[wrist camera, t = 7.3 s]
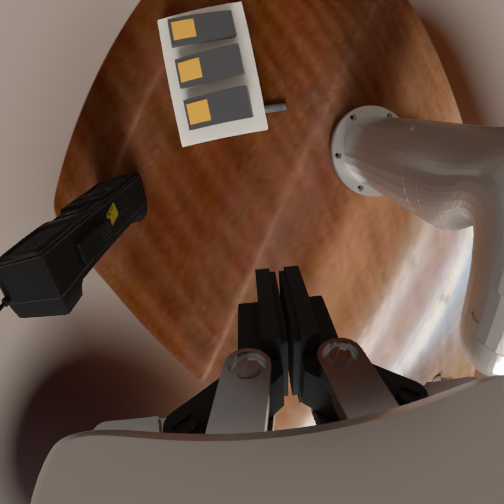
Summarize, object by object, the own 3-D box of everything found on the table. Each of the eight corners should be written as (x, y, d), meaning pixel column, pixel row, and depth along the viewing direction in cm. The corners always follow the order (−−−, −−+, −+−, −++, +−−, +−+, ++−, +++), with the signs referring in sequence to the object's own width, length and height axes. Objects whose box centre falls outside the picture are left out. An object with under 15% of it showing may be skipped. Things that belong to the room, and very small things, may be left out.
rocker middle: (240, 46, 25) (237, 42, 23) (246, 75, 27) (243, 72, 25) (180, 62, 26) (174, 59, 24) (185, 89, 28) (179, 88, 26)
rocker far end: (227, 15, 24) (231, 9, 22) (233, 40, 26) (236, 35, 24) (167, 24, 23) (167, 18, 21) (171, 50, 24) (172, 45, 23)
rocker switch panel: (264, 7, 26) (266, -2, 23) (289, 125, 33) (293, 125, 30) (163, 27, 26) (157, 20, 23) (186, 145, 33) (182, 147, 31)
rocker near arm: (249, 86, 27) (245, 84, 25) (255, 117, 28) (251, 117, 27) (189, 100, 29) (182, 100, 27) (195, 129, 30) (189, 130, 28)
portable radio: (146, 168, 34) (23, 251, 12) (156, 211, 37) (66, 337, 14) (96, 182, 34) (-34, 269, 12) (108, 222, 37) (2, 337, 15)
